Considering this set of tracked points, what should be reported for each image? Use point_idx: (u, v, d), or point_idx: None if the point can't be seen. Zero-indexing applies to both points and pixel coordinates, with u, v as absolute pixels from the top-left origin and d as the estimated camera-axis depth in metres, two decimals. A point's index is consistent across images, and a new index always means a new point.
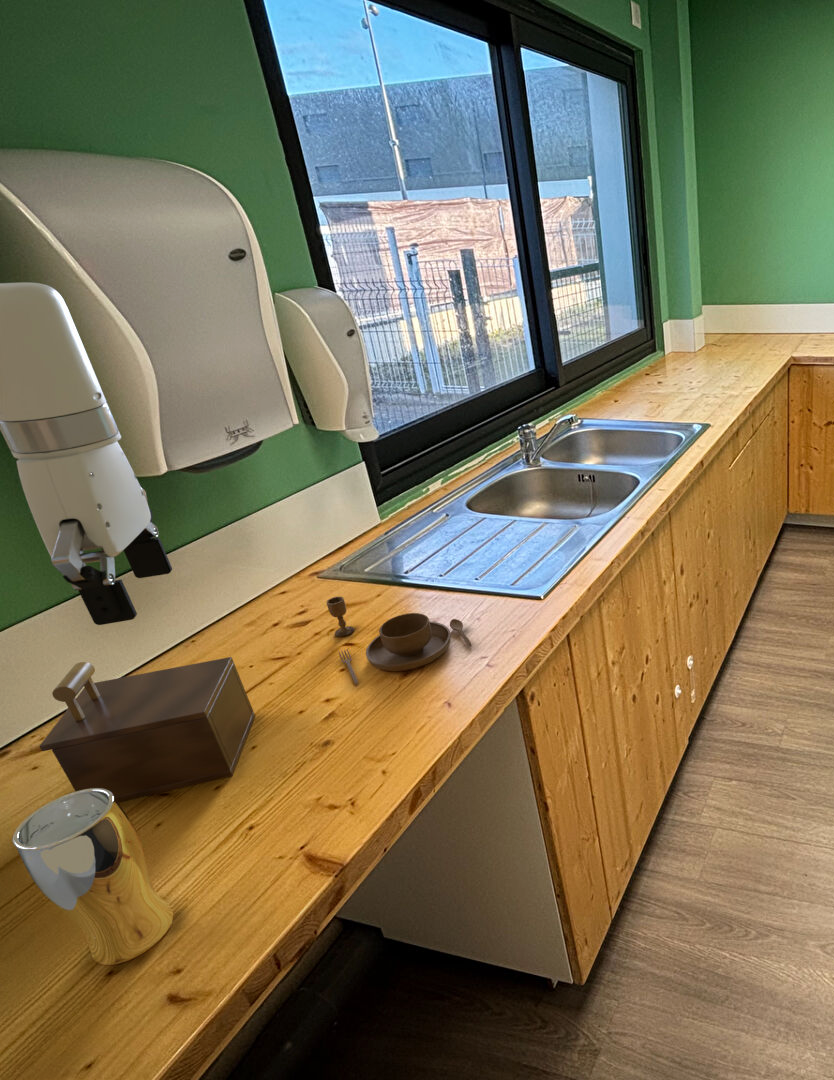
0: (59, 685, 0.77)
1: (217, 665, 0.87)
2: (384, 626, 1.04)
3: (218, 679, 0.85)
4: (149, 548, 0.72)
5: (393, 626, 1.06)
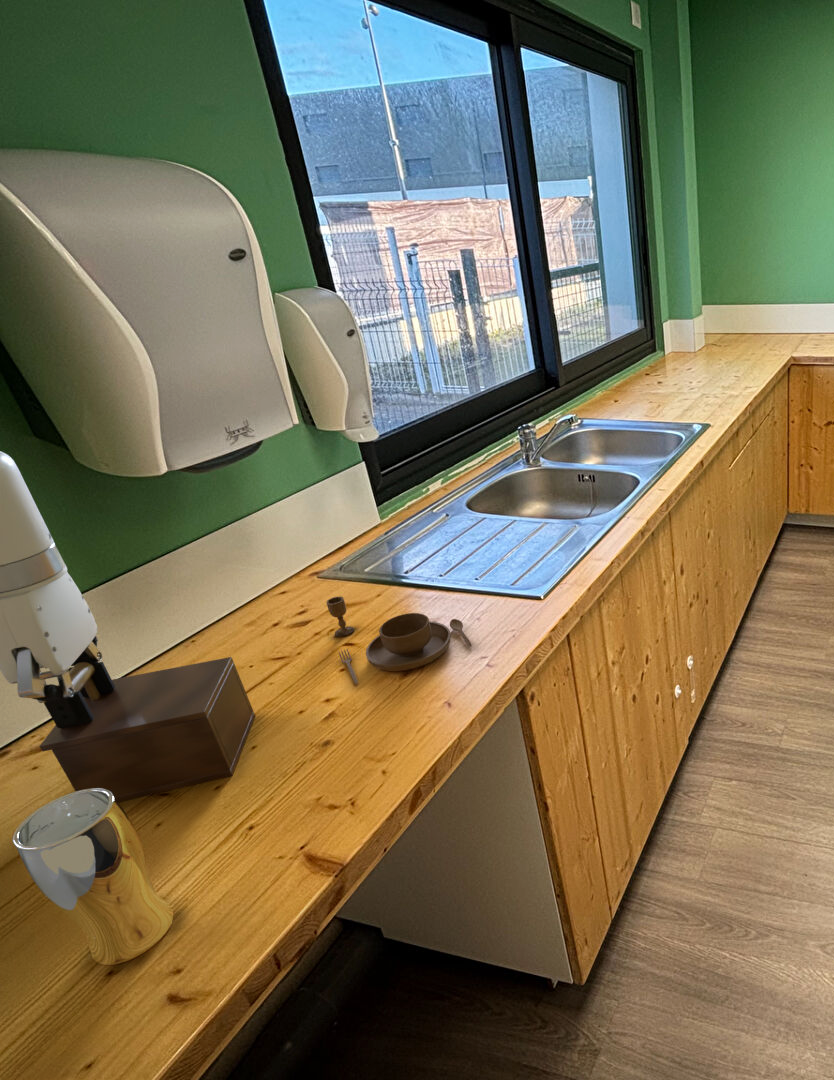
0: None
1: (217, 665, 0.87)
2: (384, 626, 1.04)
3: (218, 679, 0.85)
4: None
5: (393, 626, 1.06)
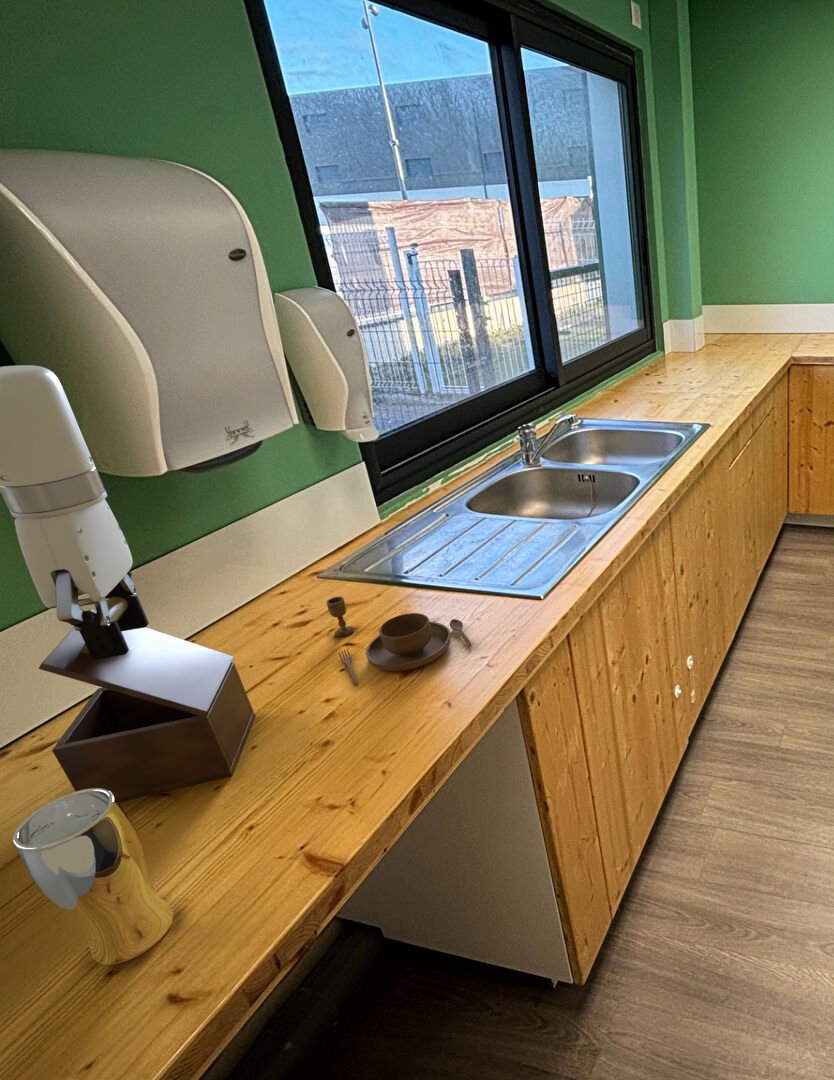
0: None
1: (220, 660, 0.87)
2: (384, 626, 1.04)
3: (220, 678, 0.85)
4: None
5: (393, 626, 1.06)
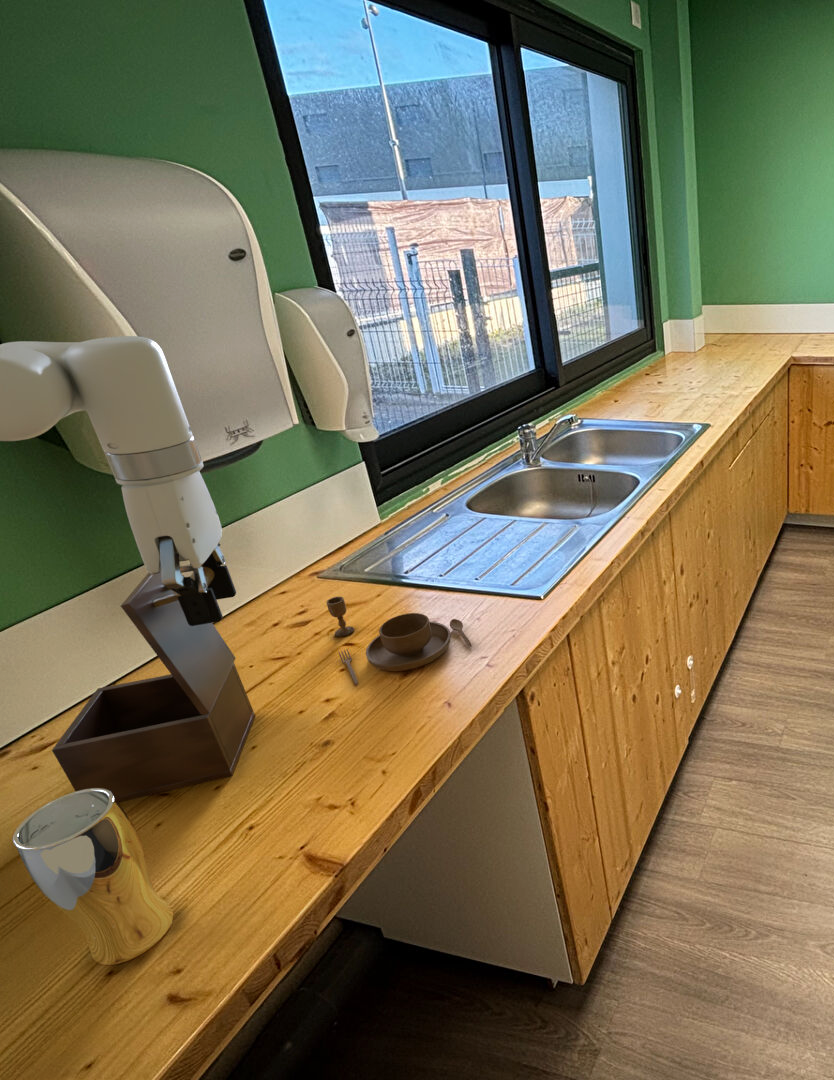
0: None
1: (227, 657, 0.87)
2: (384, 626, 1.04)
3: (224, 679, 0.85)
4: (218, 574, 0.82)
5: (393, 626, 1.06)
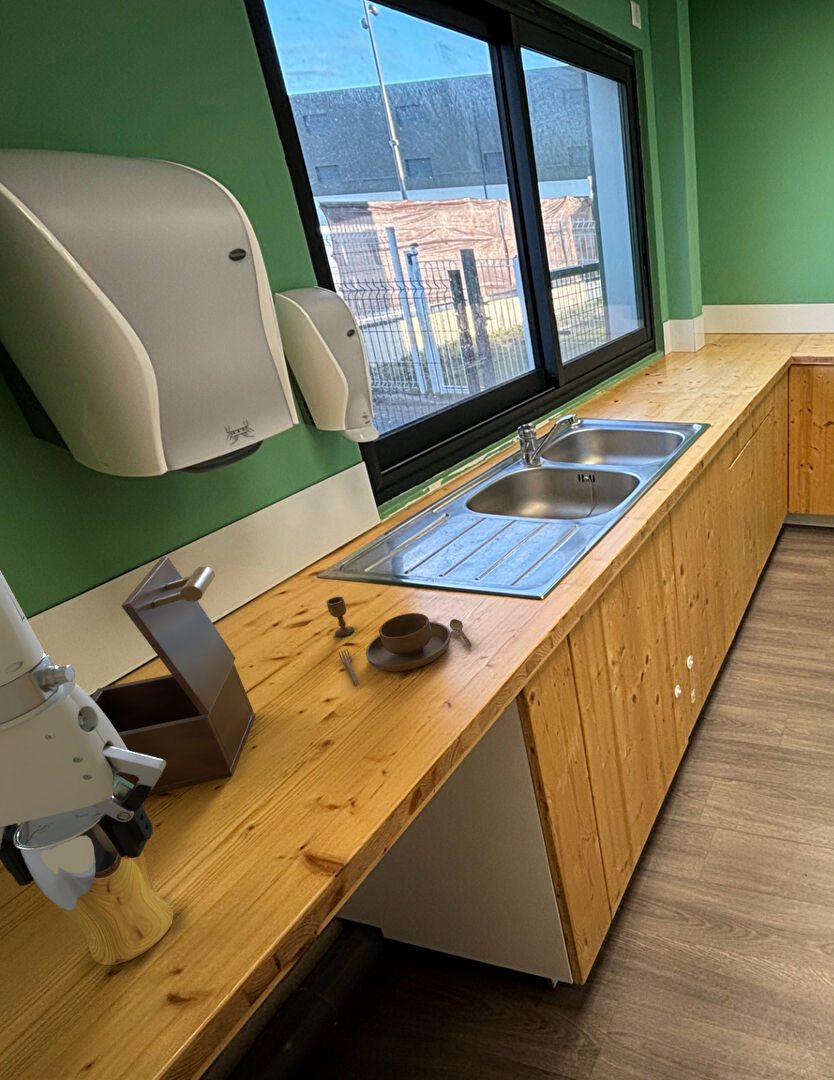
0: (200, 587, 0.77)
1: (227, 657, 0.87)
2: (384, 626, 1.04)
3: (224, 679, 0.85)
4: None
5: (393, 626, 1.06)
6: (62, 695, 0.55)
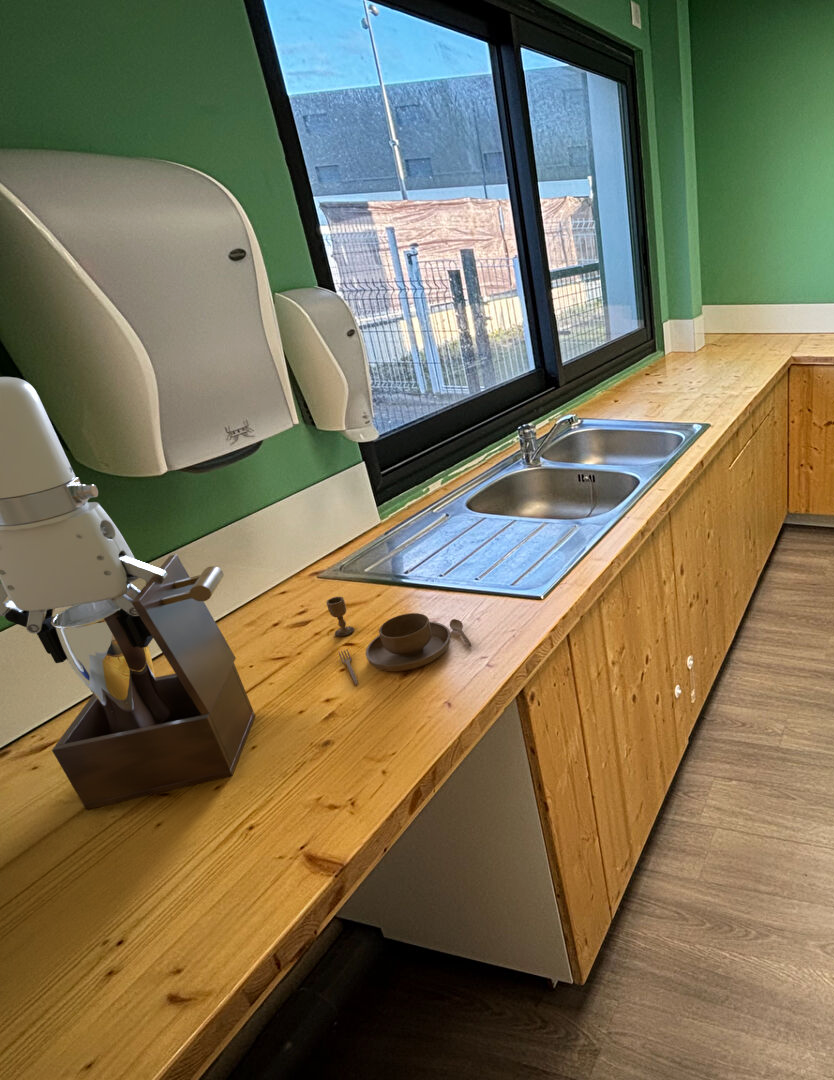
0: (210, 587, 0.78)
1: (228, 657, 0.88)
2: (384, 626, 1.04)
3: (224, 679, 0.85)
4: None
5: (393, 626, 1.06)
6: (88, 508, 0.73)
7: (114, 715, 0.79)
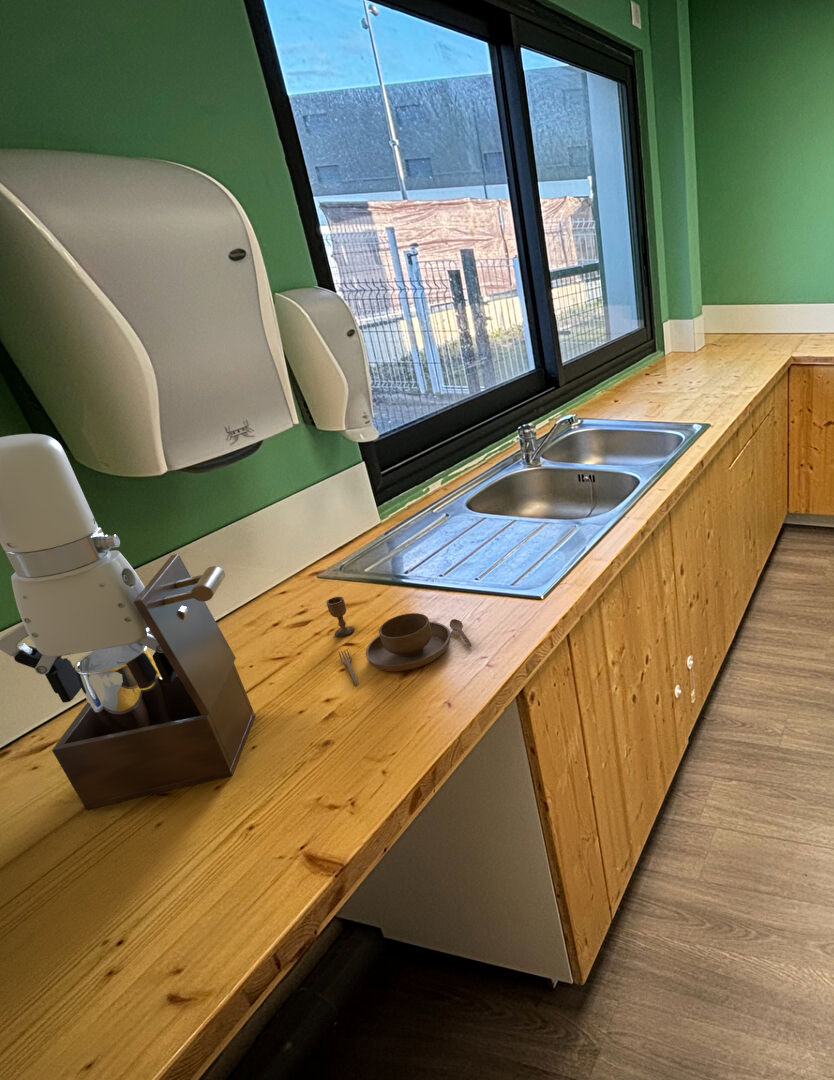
0: (211, 587, 0.78)
1: (228, 657, 0.88)
2: (384, 626, 1.04)
3: (224, 679, 0.85)
4: None
5: (393, 626, 1.06)
6: (110, 558, 0.75)
7: None
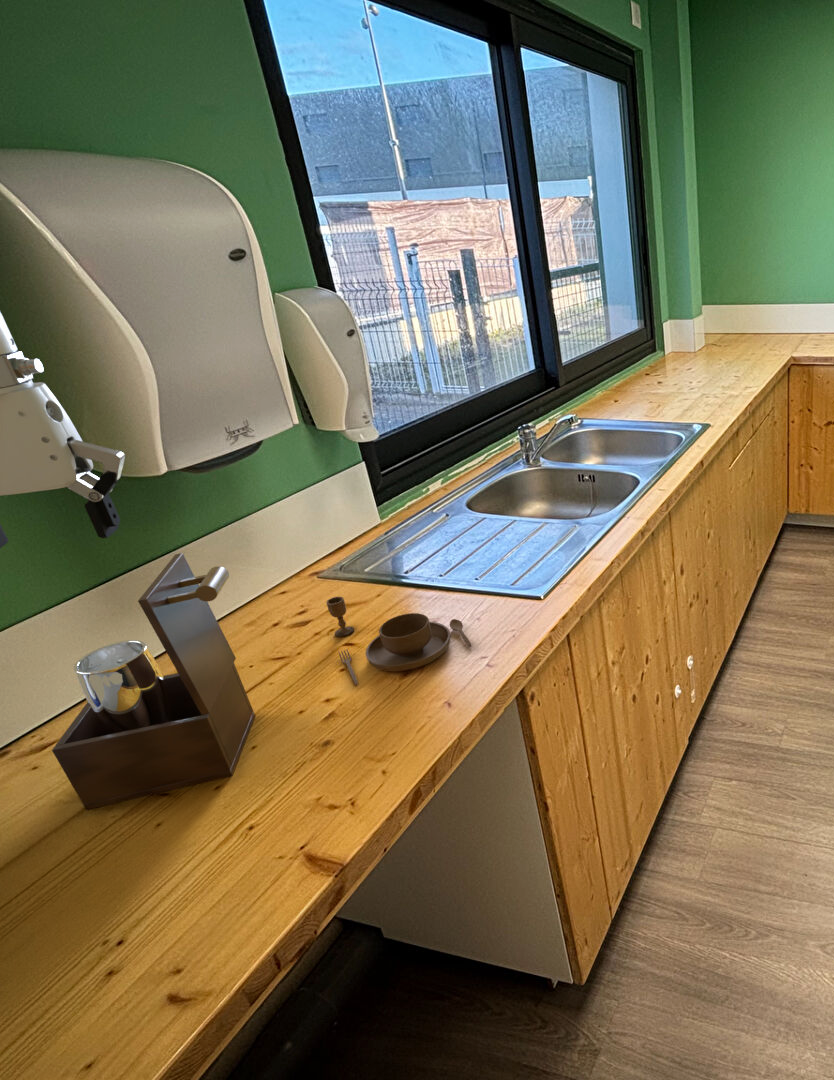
0: (216, 587, 0.78)
1: (229, 657, 0.88)
2: (384, 626, 1.04)
3: (224, 679, 0.85)
4: None
5: (393, 626, 1.06)
6: (32, 386, 0.67)
7: None
